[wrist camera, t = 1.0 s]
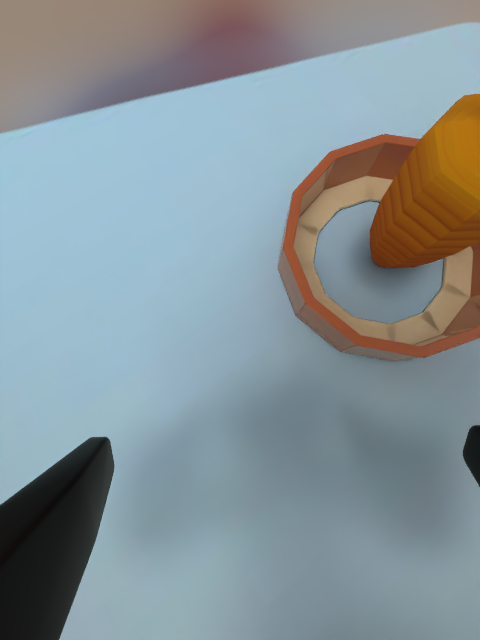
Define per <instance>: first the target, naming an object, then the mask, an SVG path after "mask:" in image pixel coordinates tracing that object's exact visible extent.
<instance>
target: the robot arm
mask: <svg viewBox="0 0 480 640" xmlns="http://www.w3.org/2000/svg"><path fill="white" fill-rule="evenodd" d="M463 458H464V460H465V462H466V464H467V466H468V468H469V469H470V471H471V473H472V474H473V476H474V478H475V480H476V481H477V483H478V485H479V486H480V425H475V426H472V427H471V428H470V429H469V432H468V435H467V439H466V442H465V445H464V449H463ZM113 473H114V460H113V454H112V449H111V444H110V440H109V438H107V437H92V438H89V439H88V440H86V441H85V442H84V443H82V444H81V445H80V446H78V447H77V448H76V449H74V450H73V451H72V452H70V453H69V454H68V455H66V456H65V457H64V458H62V459H61V460H60V461H58V462H57V463H56V464H54V465H53V466H52V467H50V468H49V469H48V470H46V471H45V472H44V473H42V474H41V475H40V476H38V477H37V478H36V479H34V480H33V481H32V482H30V483H29V484H28V485H26V486H25V487H24V488H22V489H21V490H20V491H18V492H17V493H16V494H14V495H13V496H12V497H10V498H9V499H8V500H6V501H5V502H4V503H2V504H1V505H0V640H59V638H60V636H61V633H62V630H63V627H64V625H65V622H66V619H67V617H68V614H69V611H70V609H71V606H72V603H73V601H74V598H75V595H76V592H77V590H78V587H79V584H80V582H81V579H82V576H83V574H84V571H85V568H86V566H87V563H88V560H89V557H90V555H91V552H92V549H93V546H94V543H95V540H96V537H97V534H98V530H99V526H100V523H101V519H102V515H103V511H104V507H105V504H106V500H107V496H108V492H109V488H110V485H111V481H112V477H113Z"/></svg>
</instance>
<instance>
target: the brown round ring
mask: <svg viewBox="0 0 480 640" xmlns="http://www.w3.org/2000/svg"><path fill="white" fill-rule="evenodd" d="M419 140H420V139H416V138H409V137H402V136H395V135H388V134H384V135H383V134H382V135H379V136H376V137H373V138H370V139H367V140H364V141H361V142H358V143H355V144H352V145H349V146H346V147H343V148H340V149H337V150H334V151H331V152H329V153H328V154H327V155H326V156H325V157H324V159H323V160H322V161H321V162H320V163H319V164H318V165H317V166H316V167H315V168H314V170H313V171H312V172H311V173H310V174H309V175H308V176H307V177H306V178H305V179H304V181H303V182H302V183H301V184H300V185H299V186H298V187H297V188H296V189H295V190H294V192H293V194H292V197H291V202H290V206H289V210H288V215H287V219H286V224H285V229H284V235H283V240H282V246H281V252H280V257H279V263H278V270H279V273H280V276H281V278H282V281H283V283H284V286H285V288H286V291H287V294H288V296H289V299H290V301H291V304H292V306H293V309H294V312H295V314H296V316H297V317H298V318H299V319H300V320H302V321H303V322H304V323H305V324H307V325H308V326H309V327H310V328H311V329H313V330H314V331H315V332H316V333H318V334H319V335H320V336H321V337H322V338H324V339H325V340H326V341H327V342H329V343H330V344H331V345H332V346H333V347H335V348H336V349H337V350H340V351H341V352H346V353H352V354H357V355H362V356H368V357H373V358H379V359H384V360H389V361H401V360H409V359H417V358H425V357H428V356H430V355H433V354H436V353H439V352H442V351H444V350H447V349H450V348H453V347H456V346H458V345H461V344H464V343H467V342H470V341H472V340H475V339H478V338H480V241H479V242H477V243H475V244H473V245H471V246H469V247H467V248H466V249H464V250H462V251H460V252H458V253H456V254H454V255H451V256H448V257H445V258H444V267H443V279H442V288H441V289H440V290H439V292H438V293H437V294H436V296H435V297H434V298H433V299H432V301H431V302H430V303H429V304H428V306H427V307H426V308H425V309H424V311H423V312H422V313H421V314H418V315H415V316H412V317H409V318H407V319H404V320H401V321H398V322H395V323H392V324H386V323H381V322H375V321H369V320H364V319H358V318H354V317H353V316H351V315H350V314H349V313H348V312H346V311H345V310H344V309H343V308H341V307H340V306H339V305H338V304H336V303H335V302H334V301H332V300H331V299H330V298H329V297H327V296H326V294H325V292H324V289H323V287H322V284H321V282H320V279H319V277H318V275H317V272H316V270H315V267H314V265H313V262H314V256H315V250H316V243H317V237H318V233H319V232H320V231H321V230H322V228H323V227H324V226H325V225H326V224H327V223H328V222H329V220H330V219H331V218H332V217H333V216H334V215H335V214H336V212H337V211H339V210H342V209H345V208H347V207H350V206H353V205H356V204H359V203H362V202H365V201H368V200H369V201H376V202H381V199H382V197H383V196H384V194H385V193H386V191H387V189H388V188H389V186H390V184H391V183H392V181H393V179H394V178H395V176H396V175H397V173H398V171H399V170H400V168H401V167H402V165H403V164H404V162H405V161H406V159H407V158H408V156H409V155H410V153H411V152H412V150H413V149H414V147H415V146H416V144H417V143H418V142H419Z"/></svg>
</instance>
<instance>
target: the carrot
mask: <svg viewBox="0 0 480 640" xmlns="http://www.w3.org/2000/svg"><path fill="white" fill-rule="evenodd" d="M479 241H480V94H473V95H465V96H463V97H462V98H461V99H460V100H458V101H457V102H456V103H455V104H454V105H453V106H452V107H451V108H450V109H449V110H448V111H447V112H446V113H445V114H444V115H443V116H442V117H441V118H440V119H439V120H438V121H437V122H436V123H435V124H434V125H433V126H432V128H431V129H430V130H429V131H428V132H427V133H426V134H425V135H424V136H423V137H422V138H421V139H420V140H419V142H418V143H417V144H416V146H415V147H414V149H413V150H412V152H411V153H410V155H409V156H408V158H407V159H406V161H405V162H404V164H403V165H402V167H401V168H400V170H399V171H398V173H397V175H396V176H395V178H394V179H393V181H392V183H391V184H390V186H389V188H388V189H387V191H386V193H385V194H384V196H383V197H382V199H381V202H380V204H379V207H378V209H377V212H376V214H375V217H374V220H373V223H372V226H371V229H370V250H371V258H372V261H373V262H374V263H375V264H377V265H378V266H380V267H383V268H398V267H416V266H420V265H423V264H427V263H430V262H434V261H437V260H440V259H443V258H445V257H448V256H451V255H454V254H456V253H458V252H460V251H462V250H464V249H466V248H467V247H469V246H471V245H473V244H475V243H477V242H479Z"/></svg>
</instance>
